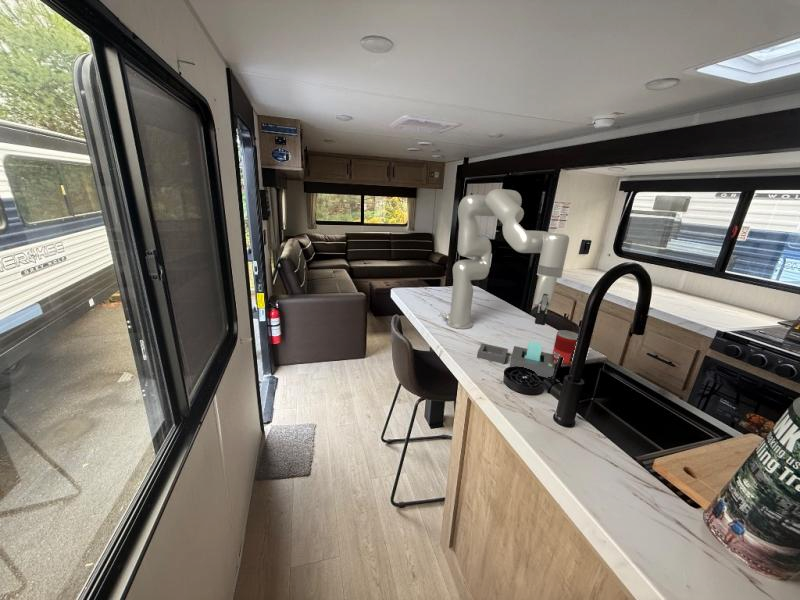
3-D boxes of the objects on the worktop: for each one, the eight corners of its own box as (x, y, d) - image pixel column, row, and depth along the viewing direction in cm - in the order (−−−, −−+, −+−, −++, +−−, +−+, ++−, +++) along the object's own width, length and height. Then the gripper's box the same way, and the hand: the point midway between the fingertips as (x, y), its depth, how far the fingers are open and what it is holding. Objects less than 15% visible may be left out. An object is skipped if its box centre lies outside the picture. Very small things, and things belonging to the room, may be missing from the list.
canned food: (574, 367, 113) (580, 339, 110) (550, 361, 117) (556, 334, 114) (575, 359, 119) (581, 333, 116) (552, 353, 123) (558, 328, 120)
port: (509, 368, 109) (511, 356, 108) (512, 355, 120) (514, 344, 119) (552, 379, 104) (555, 366, 103) (551, 364, 114) (554, 353, 113)
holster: (476, 357, 116) (477, 351, 116) (481, 348, 124) (482, 343, 123) (504, 364, 112) (505, 357, 112) (507, 354, 120) (507, 348, 119)
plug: (522, 367, 111) (527, 344, 109) (523, 362, 115) (527, 340, 112) (538, 370, 109) (543, 347, 107) (539, 365, 113) (543, 343, 110)
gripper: (538, 266, 111) (529, 311, 116) (536, 274, 96) (527, 325, 101) (561, 269, 108) (551, 315, 113) (563, 277, 93) (552, 330, 98)
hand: (539, 320), depth 107 cm, fingers open, 8 cm apart
